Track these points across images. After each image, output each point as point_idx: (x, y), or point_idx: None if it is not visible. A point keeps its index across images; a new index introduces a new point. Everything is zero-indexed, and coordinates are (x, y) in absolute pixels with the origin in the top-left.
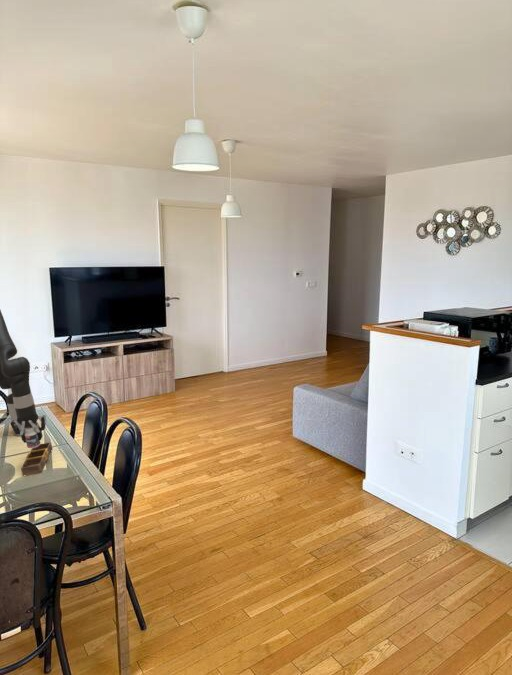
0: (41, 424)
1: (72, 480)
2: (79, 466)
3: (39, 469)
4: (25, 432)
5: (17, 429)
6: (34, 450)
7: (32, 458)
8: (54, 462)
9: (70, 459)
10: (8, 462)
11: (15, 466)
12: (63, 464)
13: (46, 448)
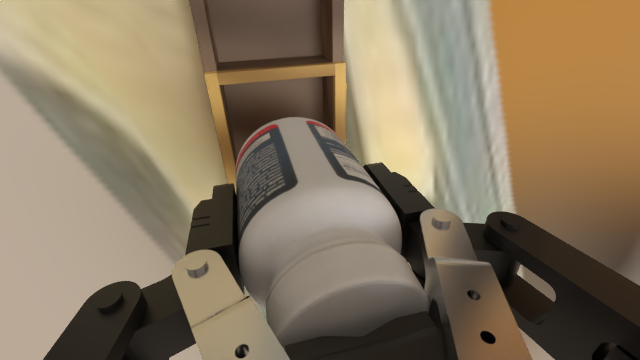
0: (544, 343)
1: None
2: (477, 197)
3: None
4: (254, 283)
5: (101, 351)
6: (246, 73)
7: None
8: (372, 140)
9: (447, 128)
10: (14, 56)
11: (134, 135)
12: (417, 169)
13: (340, 67)
